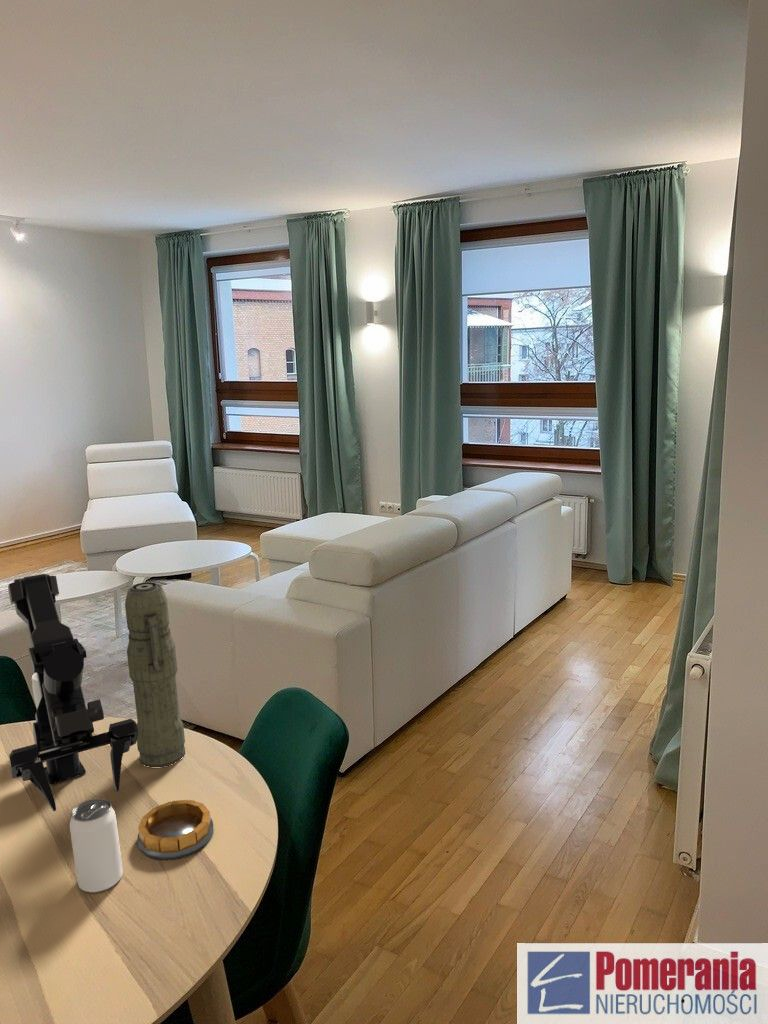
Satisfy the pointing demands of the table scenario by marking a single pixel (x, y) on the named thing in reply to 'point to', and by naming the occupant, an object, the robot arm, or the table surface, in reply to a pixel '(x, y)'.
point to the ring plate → (175, 830)
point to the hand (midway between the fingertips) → (86, 800)
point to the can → (95, 845)
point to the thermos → (153, 676)
